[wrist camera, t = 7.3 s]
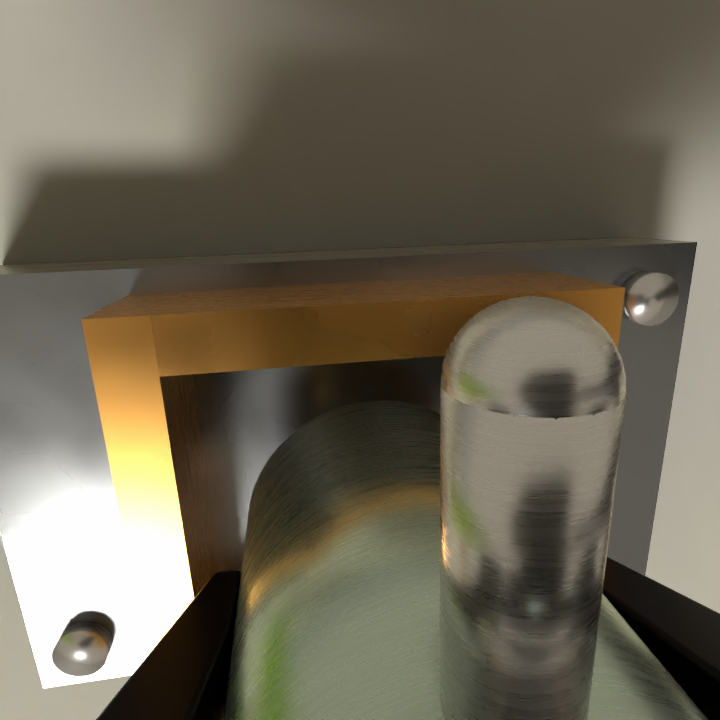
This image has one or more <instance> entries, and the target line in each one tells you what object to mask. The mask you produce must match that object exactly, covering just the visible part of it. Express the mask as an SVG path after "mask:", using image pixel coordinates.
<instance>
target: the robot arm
mask: <svg viewBox="0 0 720 720" xmlns="http://www.w3.org/2000/svg"><path fill="white" fill-rule="evenodd" d="M240 578H241V572H240V570H237V569H236V570H228V571H220V572H216V573H215V574H214V575H213V576H212V577H211V578H210V579H209V581H208V582H207V583H206V584H205V586H204V587H203V588H202V589H201V590H200V592H199V593H198V594H197V595H196V597H195V598H194V599H193V600H192V602H191V603H190V604H189V605H188V607H187V608H186V609H185V610H184V612H183V613H182V614H181V615H180V616H179V618H178V619H177V620H176V621H175V623H174V624H173V625H172V626H171V628H170V629H169V630H168V631H167V633H166V634H165V635H164V636H163V638H162V639H161V640H160V641H159V642H158V644H157V645H156V646H155V647H154V649H153V650H152V651H151V652H150V654H149V655H148V656H147V657H146V659H145V660H144V661H143V662H142V664H141V665H140V666H139V667H138V668H137V670H136V671H135V672H134V673H133V675H132V676H131V677H130V678H129V680H128V681H127V682H126V683H125V685H124V686H123V687H122V688H121V690H120V691H119V692H118V693H117V694H116V696H115V697H114V698H113V699H112V701H111V702H110V703H109V704H108V706H107V707H106V708H105V709H104V711H103V712H102V713H101V714H100V716H99V717H98V718H97V719H96V720H223V719H224V711H225V703H226V694H227V686H228V678H229V669H230V661H231V653H232V644H233V636H234V628H235V620H236V611H237V603H238V595H239V586H240ZM602 593H603V595H604V596H605V597H606V598H607V599H608V601H609V602H610V603H611V604H612V605H613V607H614V608H615V609H616V610H617V611H618V613H619V614H620V615H621V616H622V617H623V618H624V620H625V621H626V622H627V623H628V624H629V626H630V627H631V628H632V629H633V630H634V632H635V633H636V634H637V635H638V636H639V638H640V639H641V640H642V641H643V642H644V644H645V645H646V646H647V647H648V648H649V650H650V651H651V652H652V653H653V654H654V655H655V657H656V658H657V659H658V660H659V661H660V663H661V664H662V665H663V666H664V667H665V669H666V670H667V671H668V672H669V673H670V675H671V676H672V677H673V678H674V679H675V681H676V682H677V683H678V684H679V685H680V687H681V688H682V689H683V690H684V691H685V692H686V694H687V695H688V696H689V697H690V698H691V700H692V701H693V702H694V703H695V704H696V706H697V707H698V708H699V709H700V710H701V712H702V713H703V714H704V715H705V716H706V718H707V719H708V720H720V614H719V613H717V612H715V611H713V610H711V609H709V608H708V607H706V606H704V605H702V604H700V603H698V602H696V601H694V600H692V599H690V598H688V597H686V596H684V595H682V594H680V593H678V592H676V591H674V590H672V589H670V588H668V587H666V586H664V585H662V584H660V583H658V582H656V581H654V580H652V579H650V578H648V577H646V576H644V575H642V574H640V573H638V572H636V571H634V570H632V569H630V568H628V567H626V566H625V565H623V564H621V563H619V562H617V561H615V560H613V559H611V558H609V557H607V559H606V567H605V576H604V584H603V592H602Z"/></svg>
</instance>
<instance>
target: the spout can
mask: <svg viewBox="0 0 720 720" xmlns="http://www.w3.org/2000/svg"><path fill="white" fill-rule="evenodd" d="M625 399H626V374H625V370H624V366H623V361H622V358H621V356H620V354H619V352H618V350H617V347H616V345H615V343H614V341H613V339H612V338H611V336H610V335H609V334H608V333H607V331H606V330H605V329H604V328H603V326H602V325H601V324H600V323H599V322H597V321H596V320H595V319H594V318H592V317H591V316H590V315H589V314H587V313H586V312H585V311H583V310H581V309H579V308H577V307H575V306H573V305H571V304H569V303H567V302H564V301H560V300H556V299H552V298H548V297H541V296H523V297H517V298H512V299H508V300H503V301H500V302H498V303H496V304H493V305H491V306H489V307H487V308H485V309H483V310H482V311H480V312H479V313H477V314H476V315H475V316H473V317H472V318H471V319H469V320H468V321H467V322H466V324H465V325H464V326H463V327H462V328H461V329H460V330H459V331H458V333H457V334H456V336H455V337H454V339H453V341H452V342H451V344H450V346H449V348H448V349H447V352H446V356H445V359H444V362H443V365H442V374H441V394H440V413H438V412H437V411H434V410H431V409H429V408H426V407H423V406H420V405H416V404H411V403H407V402H399V401H368V402H362V403H355V404H351V405H348V406H344V407H340V408H337V409H334V410H332V411H330V412H327V413H325V414H323V415H320V416H318V417H317V418H315V419H313V420H311V421H310V422H308V423H306V424H305V425H303V426H302V427H301V428H299V429H298V430H297V431H295V432H294V433H292V434H291V435H290V436H289V437H288V438H287V439H286V440H285V441H284V442H283V443H282V444H281V445H280V446H279V447H278V448H277V449H276V450H275V452H274V453H273V454H272V455H271V457H270V458H269V459H268V461H267V462H266V464H265V466H264V467H263V469H262V471H261V472H260V474H259V477H258V479H257V481H256V484H255V486H254V488H253V492H252V496H251V500H250V503H249V512H248V520H247V528H246V536H245V545H244V553H243V561H242V570H241V578H240V586H239V595H238V603H237V611H236V620H235V628H234V636H233V644H232V653H231V661H230V669H229V678H228V686H227V694H226V703H225V711H224V719H223V720H708V719H707V718H706V716H705V715H704V714H703V713H702V712H701V710H700V709H699V708H698V707H697V706H696V704H695V703H694V702H693V701H692V700H691V698H690V697H689V696H688V695H687V694H686V692H685V691H684V690H683V689H682V688H681V687H680V685H679V684H678V683H677V682H676V681H675V679H674V678H673V677H672V676H671V675H670V673H669V672H668V671H667V670H666V669H665V667H664V666H663V665H662V664H661V663H660V661H659V660H658V659H657V658H656V657H655V655H654V654H653V653H652V652H651V651H650V650H649V648H648V647H647V646H646V645H645V644H644V642H643V641H642V640H641V639H640V638H639V636H638V635H637V634H636V633H635V632H634V630H633V629H632V628H631V627H630V626H629V624H628V623H627V622H626V621H625V620H624V618H623V617H622V616H621V615H620V614H619V613H618V611H617V610H616V609H615V608H614V607H613V605H612V604H611V603H610V602H609V601H608V599H607V598H606V597H605V596H604V595H603V593H602V592H603V584H604V576H605V567H606V559H607V550H608V542H609V533H610V525H611V517H612V508H613V500H614V491H615V483H616V474H617V466H618V458H619V449H620V441H621V432H622V424H623V415H624V407H625Z"/></svg>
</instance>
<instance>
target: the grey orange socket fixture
mask: <svg viewBox="0 0 720 720" xmlns="http://www.w3.org/2000/svg"><path fill="white" fill-rule="evenodd" d="M696 246H697V242H686V241H672V240H657V239H643V238H628V237H623V238H600V239H578V240H555V241H533V242H510V243H487V244H465V245H442V246H420V247H397V248H375V249H352V250H330V251H307V252H284V253H262V254H239V255H217V256H194V257H172V258H149V259H127V260H104V261H81V262H59V263H36V264H14V265H0V534H1V538H2V542H3V545H4V549H5V552H6V556H7V559H8V563H9V567H10V570H11V574H12V577H13V581H14V585H15V588H16V592H17V595H18V599H19V603H20V606H21V610H22V613H23V617H24V621H25V624H26V628H27V631H28V635H29V639H30V642H31V646H32V649H33V653H34V656H35V660H36V664H37V667H38V671H39V674H40V678H41V682H42V685H43V688H49V687H56V686H62V685H69V684H76V683H83V682H89V681H96V680H103V679H110V678H116V677H123V676H130V675H133V673H134V672H135V671H136V670H137V668H138V667H139V666H140V665H141V664H142V662H143V661H144V660H145V659H146V657H147V656H148V655H149V654H150V652H151V651H152V650H153V649H154V647H155V646H156V645H157V644H158V642H159V641H160V640H161V639H162V638H163V636H164V635H165V634H166V633H167V631H168V630H169V629H170V628H171V626H172V625H173V624H174V623H175V621H176V620H177V619H178V618H179V616H180V615H181V614H182V613H183V612H184V610H185V609H186V608H187V607H188V605H189V604H190V603H191V602H192V600H193V599H194V598H195V597H196V595H197V594H198V593H199V592H200V590H201V589H202V588H203V587H204V586H205V584H206V583H207V582H208V581H209V579H210V578H211V577H212V576H213V575H214V574H215V573H216V572H220V571H228V570H236V569H237V570H240V572H241V570H242V561H243V553H244V545H245V536H246V528H247V520H248V512H249V503H250V500H251V496H252V492H253V488H254V486H255V484H256V481H257V479H258V477H259V474H260V472H261V471H262V469H263V467H264V466H265V464H266V462H267V461H268V459H269V458H270V457H271V455H272V454H273V453H274V452H275V450H276V449H277V448H278V447H279V446H280V445H281V444H282V443H283V442H284V441H285V440H286V439H287V438H288V437H289V436H290V435H291V434H292V433H294V432H295V431H297V430H298V429H299V428H301V427H302V426H303V425H305V424H306V423H308V422H310V421H311V420H313V419H315V418H317V417H318V416H320V415H323V414H325V413H327V412H330V411H332V410H334V409H337V408H340V407H344V406H348V405H351V404H355V403H362V402H368V401H399V402H407V403H411V404H416V405H420V406H423V407H426V408H429V409H431V410H434V411H437V412H438V413H440V394H441V374H442V365H443V362H444V359H445V356H446V352H447V349H448V348H449V346H450V344H451V342H452V341H453V339H454V337H455V336H456V334H457V333H458V331H459V330H460V329H461V328H462V327H463V326H464V325H465V324H466V322H467V321H468V320H469V319H471V318H472V317H473V316H475V315H476V314H477V313H479V312H480V311H482V310H483V309H485V308H487V307H489V306H491V305H493V304H496V303H498V302H500V301H503V300H508V299H512V298H517V297H523V296H541V297H548V298H552V299H556V300H560V301H564V302H567V303H569V304H571V305H573V306H575V307H577V308H579V309H581V310H583V311H585V312H586V313H587V314H589V315H590V316H591V317H592V318H594V319H595V320H596V321H597V322H599V323H600V324H601V325H602V326H603V328H604V329H605V330H606V331H607V333H608V334H609V335H610V336H611V338H612V339H613V341H614V343H615V345H616V347H617V350H618V352H619V354H620V356H621V358H622V361H623V366H624V370H625V374H626V399H625V407H624V415H623V424H622V432H621V441H620V449H619V458H618V466H617V474H616V483H615V491H614V500H613V508H612V517H611V525H610V533H609V542H608V550H607V557H609V558H611V559H613V560H615V561H617V562H619V563H621V564H623V565H625V566H626V567H628V568H630V569H632V570H634V571H636V572H638V573H640V574H642V575H644V576H645V572H646V566H647V560H648V553H649V547H650V540H651V534H652V528H653V521H654V515H655V508H656V502H657V496H658V489H659V483H660V477H661V470H662V464H663V457H664V451H665V445H666V438H667V432H668V425H669V419H670V413H671V406H672V400H673V393H674V387H675V381H676V374H677V368H678V362H679V355H680V349H681V342H682V336H683V330H684V323H685V317H686V310H687V304H688V298H689V291H690V285H691V278H692V272H693V266H694V259H695V253H696Z"/></svg>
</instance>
